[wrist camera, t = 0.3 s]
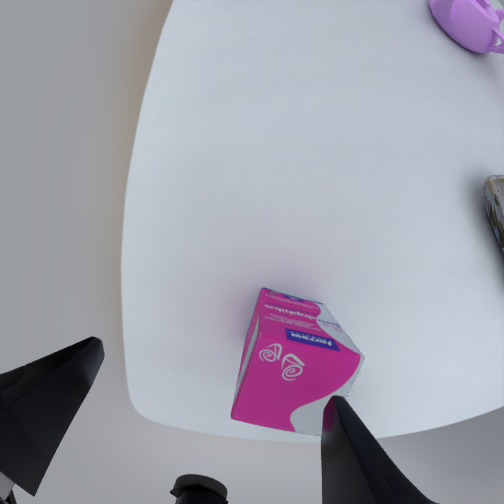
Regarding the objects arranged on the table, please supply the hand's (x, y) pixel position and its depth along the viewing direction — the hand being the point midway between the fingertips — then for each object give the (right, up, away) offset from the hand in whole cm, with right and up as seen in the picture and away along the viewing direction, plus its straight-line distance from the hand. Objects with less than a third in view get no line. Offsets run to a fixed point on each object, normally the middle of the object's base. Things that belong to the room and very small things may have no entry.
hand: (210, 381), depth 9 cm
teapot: (+31, +37, +10) cm, 49 cm away
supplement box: (+4, -2, +15) cm, 16 cm away
